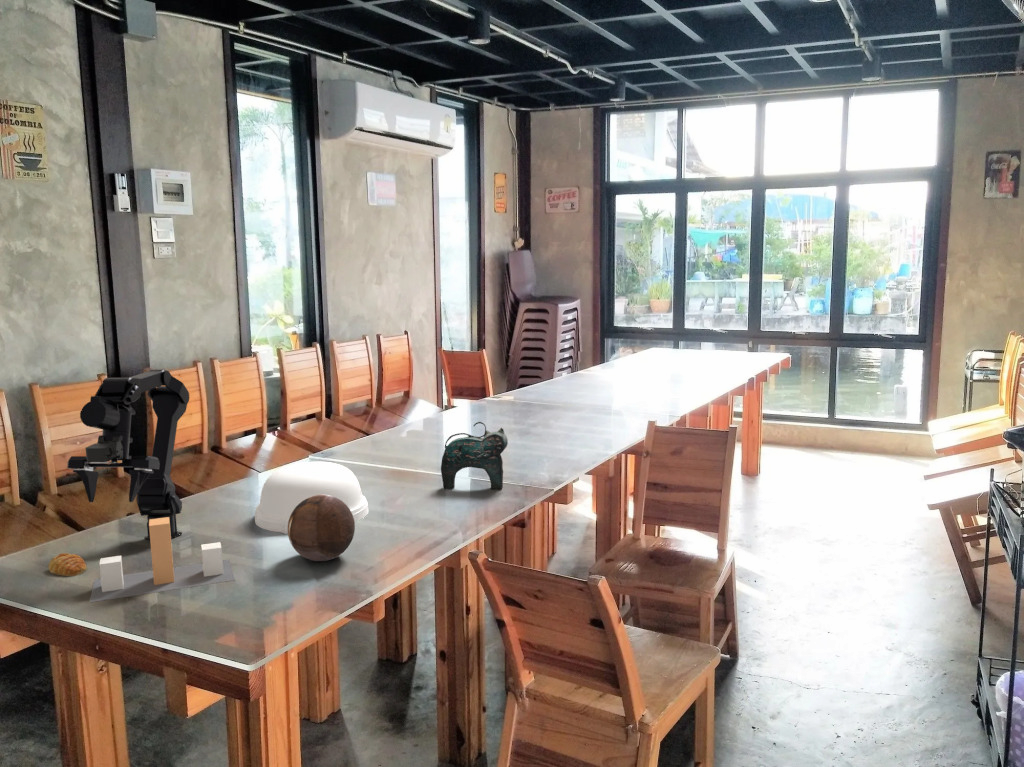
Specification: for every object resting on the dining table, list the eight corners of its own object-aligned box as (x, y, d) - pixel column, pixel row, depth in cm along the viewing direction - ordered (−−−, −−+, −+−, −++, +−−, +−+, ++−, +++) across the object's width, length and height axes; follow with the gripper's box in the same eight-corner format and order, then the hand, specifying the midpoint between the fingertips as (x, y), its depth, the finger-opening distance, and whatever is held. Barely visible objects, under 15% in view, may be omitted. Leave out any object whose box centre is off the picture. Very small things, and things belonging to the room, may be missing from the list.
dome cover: (341, 537, 213) (338, 482, 211) (231, 532, 219) (227, 478, 217) (385, 501, 244) (383, 453, 242) (288, 498, 250) (285, 450, 248)
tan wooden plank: (154, 577, 186) (149, 519, 184) (173, 574, 188) (169, 517, 186) (154, 585, 181) (149, 525, 180) (174, 582, 183) (169, 523, 181)
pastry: (95, 573, 192) (94, 556, 191) (65, 582, 186) (63, 565, 186) (75, 564, 197) (73, 548, 197) (45, 573, 192) (43, 557, 191)
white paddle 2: (203, 570, 189) (201, 544, 188) (222, 567, 191) (220, 542, 190) (204, 576, 186) (202, 550, 185) (223, 573, 187) (221, 547, 186)
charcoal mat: (94, 581, 186) (94, 579, 186) (229, 561, 196) (229, 559, 196) (90, 604, 173) (89, 602, 173) (234, 582, 183) (234, 580, 183)
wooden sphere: (360, 547, 204) (357, 486, 202) (351, 569, 189) (347, 504, 187) (297, 549, 204) (293, 488, 202) (282, 572, 189) (278, 506, 187)
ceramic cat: (508, 485, 257) (507, 420, 254) (506, 491, 251) (505, 424, 248) (443, 485, 259) (441, 420, 256) (439, 490, 253) (437, 424, 250)
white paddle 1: (103, 585, 182) (100, 558, 181) (123, 582, 183) (121, 555, 182) (102, 591, 178) (99, 564, 177) (123, 588, 180) (120, 561, 179)
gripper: (55, 428, 186) (49, 501, 183) (138, 427, 185) (133, 500, 182) (84, 434, 197) (78, 502, 194) (162, 433, 196) (158, 502, 193)
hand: (111, 502), depth 191 cm, fingers open, 9 cm apart
